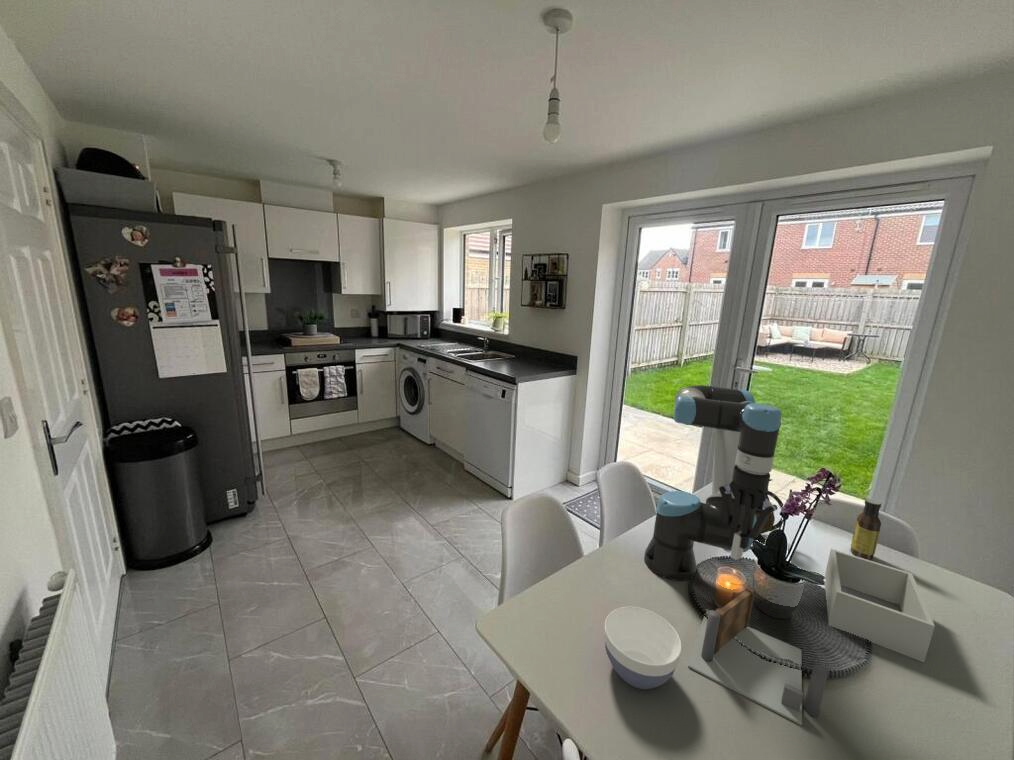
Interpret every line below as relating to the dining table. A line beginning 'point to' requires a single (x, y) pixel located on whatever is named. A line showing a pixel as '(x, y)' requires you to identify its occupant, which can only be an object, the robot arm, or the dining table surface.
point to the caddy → (872, 620)
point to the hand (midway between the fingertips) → (736, 556)
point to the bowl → (641, 646)
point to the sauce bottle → (867, 531)
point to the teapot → (770, 521)
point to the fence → (758, 670)
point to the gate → (734, 617)
